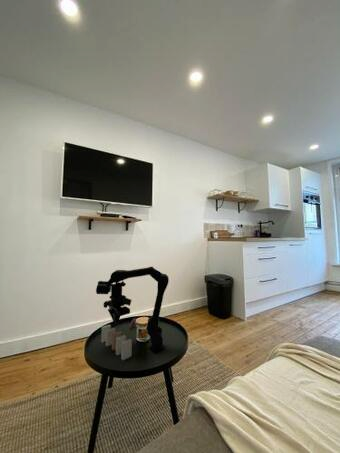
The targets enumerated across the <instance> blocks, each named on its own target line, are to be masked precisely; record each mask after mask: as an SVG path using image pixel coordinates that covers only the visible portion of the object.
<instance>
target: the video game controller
mask: <svg viewBox="0 0 340 453" xmlns="http://www.w3.org/2000/svg"><path fill="white" fill-rule="evenodd" d="M136 319H137V317H136V318H133V319H132V320H131V322H130V323H129V326H128V328H129V330H131V329H132V328H135V329H136V328H137V327H136V325H135V321H136Z"/></svg>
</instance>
